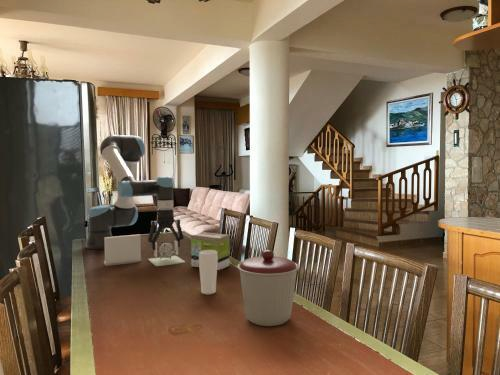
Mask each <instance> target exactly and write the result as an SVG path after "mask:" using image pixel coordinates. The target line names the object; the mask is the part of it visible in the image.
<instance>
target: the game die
mask: <svg viewBox="0 0 500 375" xmlns="http://www.w3.org/2000/svg"><path fill="white" fill-rule="evenodd" d="M173 243H174V242H173V241H172V242H163V241H162V242H161V245H160V246H159V247H158V248H157V252H158V253H159V255H160V256H159V258H160V257H161V258H170V259H171V256H174V254H175V252H176V251H175V246H173ZM161 258H160V259H161Z"/></svg>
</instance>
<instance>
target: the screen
mask: <svg viewBox="0 0 500 375" xmlns="http://www.w3.org/2000/svg"><path fill="white" fill-rule="evenodd" d="M104 241H105V249H104V260H103V264H104V266H105V267H109V266H117V265H118V266H120V265H127V264H134V263H135V264H136V263H141V262H142V252H141V248H142V247H141V246H142V244H141V234H140V233H139V234H130V235H129V234H128V235H127V234H126V235H119V236H117V235H116V236H112V237H104Z"/></svg>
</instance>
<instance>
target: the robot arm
mask: <svg viewBox="0 0 500 375" xmlns="http://www.w3.org/2000/svg"><path fill="white" fill-rule="evenodd" d="M99 151H100V152H99V153H100V155H101V157H102V159H103V160H105V161H106V162H107V163H108V164H107V165H109V168H110V169H111V171H112V173H113V175H114V177H115V179H116V181H117V182H118V183H117V186H116V190H117V198H116V199H117V200H116V201H115V202H114V203H113V206H111V205H110V204H101V205H94V206H92V207H90V208H89V209H88V216H87V217H88V237H87V240H86V244H85V248H86V249H88V250H105V241H104V237H113V235H112V228H119V227H128V226H133V225H134V224H135V223H136V222H137V220H138V217H139V213H138V211H139V210H138V207H137V206H136V204H135V203H134V202H133V201H134V198H135V197H149V196H150V197H151V196H152V197H153V196H157V197H156V198H157V199H156V201H157V203H156V204H157V218H156V220H154V221H153V220H151V221H150V225H151V226H150V230H149V234H148V238H147V242H148V243H151V249H152V250H153V253H154V254H153V256H154V258H158V250H157V249H158V243H157V240H158V238H159V236H160V234H161V232H162V230H165V229H169V230H170V231H171V232H172V235H173V236H174V238H175V239H176V240H174V250H175V251H176V252H174V254H175V256H177V255H179V248H180V247H181V244H180V243H181V240H184V234H183V231H182V227H181V219H179V218H177V219H176V218H174V215H175V214H174V212H175V211H174V178H173V177H172V176H158V177H157V178H156V179H151V180H150V179H149V180H146V179H145V180H136V174H137V164H138V163H139V162H140V161H141V158H142V157H144V156H145V155H146V154H145V153H146V147H145V142H144V140H143V138H142V137H141V136H138V135H133V134H132V135H125V134H123V135H122V134H111V135H108V136H106V138H104V139H103V140H102V142H101V143H100V146H99ZM174 223H175V225H176V229H177V232H176V229H175V227H174ZM157 225H158V227H157V229H155V228H156V226H157ZM155 230H156V231H155Z"/></svg>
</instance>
